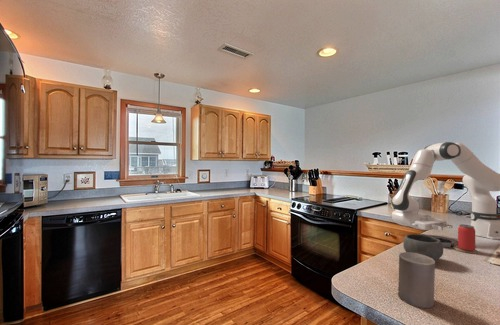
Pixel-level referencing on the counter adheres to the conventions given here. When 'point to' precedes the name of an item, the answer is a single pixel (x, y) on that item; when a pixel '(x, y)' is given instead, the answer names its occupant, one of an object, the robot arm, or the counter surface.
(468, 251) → the walnut coaster
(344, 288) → the counter surface
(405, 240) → the bowl
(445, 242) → the can collar
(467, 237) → the beer can
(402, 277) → the pillar candle
